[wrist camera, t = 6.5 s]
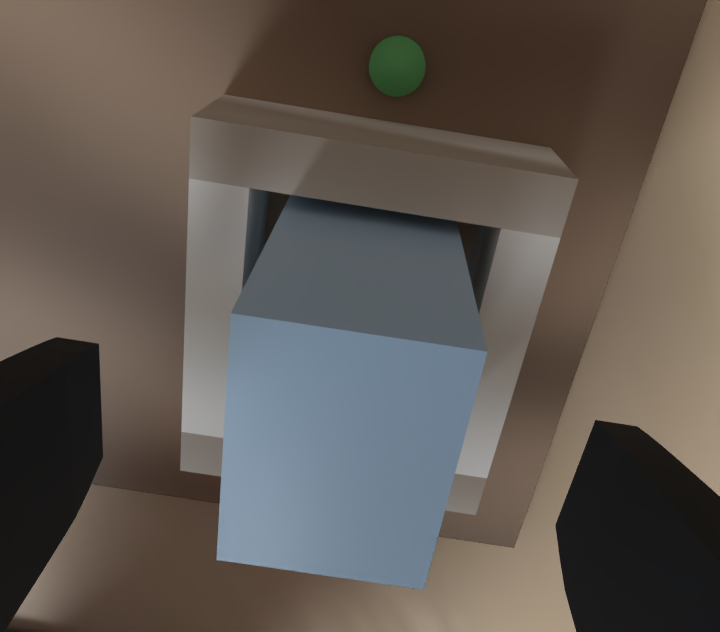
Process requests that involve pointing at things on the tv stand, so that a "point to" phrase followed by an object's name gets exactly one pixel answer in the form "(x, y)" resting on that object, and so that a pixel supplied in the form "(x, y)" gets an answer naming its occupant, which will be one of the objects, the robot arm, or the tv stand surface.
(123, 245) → the brown tray
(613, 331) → the tv stand surface
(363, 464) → the plug
